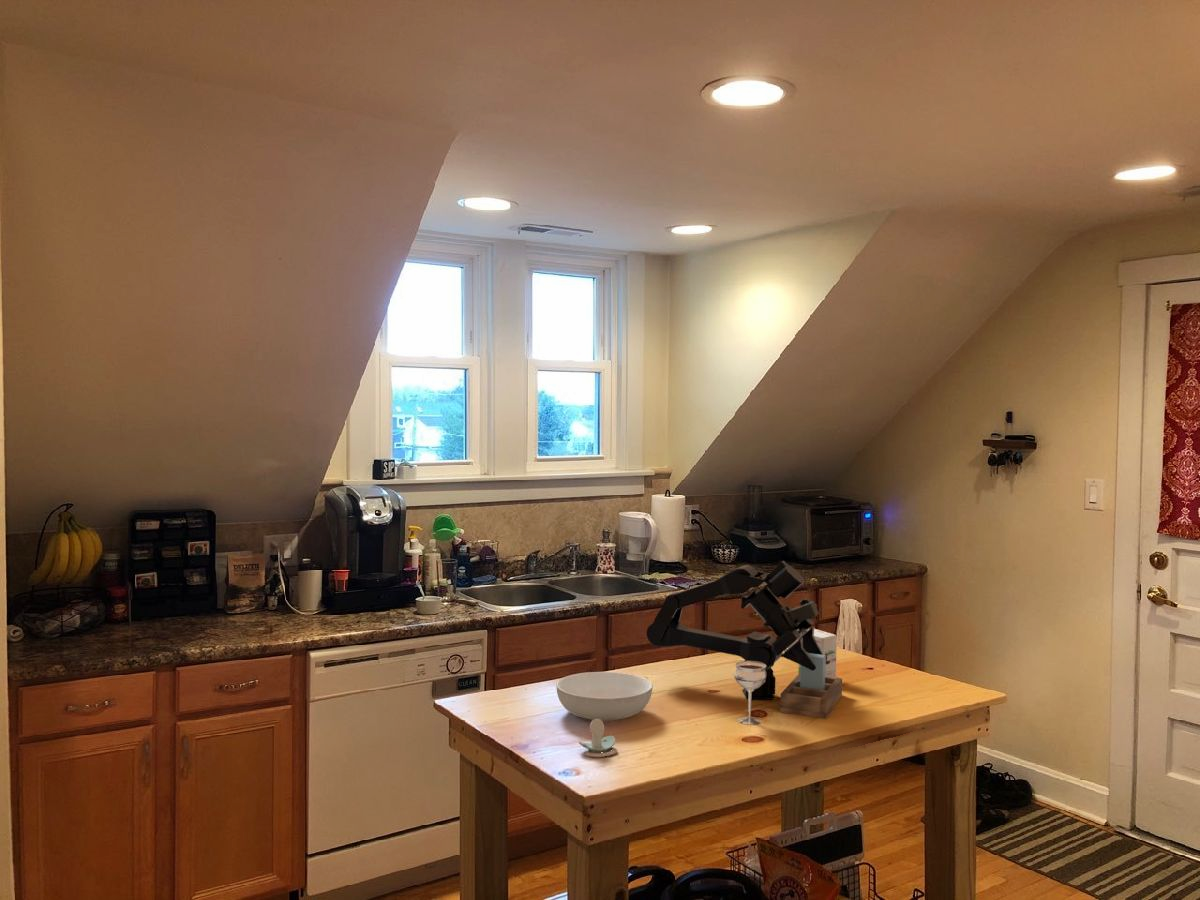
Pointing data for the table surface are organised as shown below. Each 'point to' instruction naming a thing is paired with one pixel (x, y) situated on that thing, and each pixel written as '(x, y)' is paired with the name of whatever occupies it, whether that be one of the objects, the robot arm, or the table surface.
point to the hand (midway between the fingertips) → (819, 664)
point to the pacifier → (599, 741)
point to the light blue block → (814, 673)
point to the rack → (811, 698)
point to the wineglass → (750, 683)
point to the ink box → (827, 650)
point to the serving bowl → (604, 695)
